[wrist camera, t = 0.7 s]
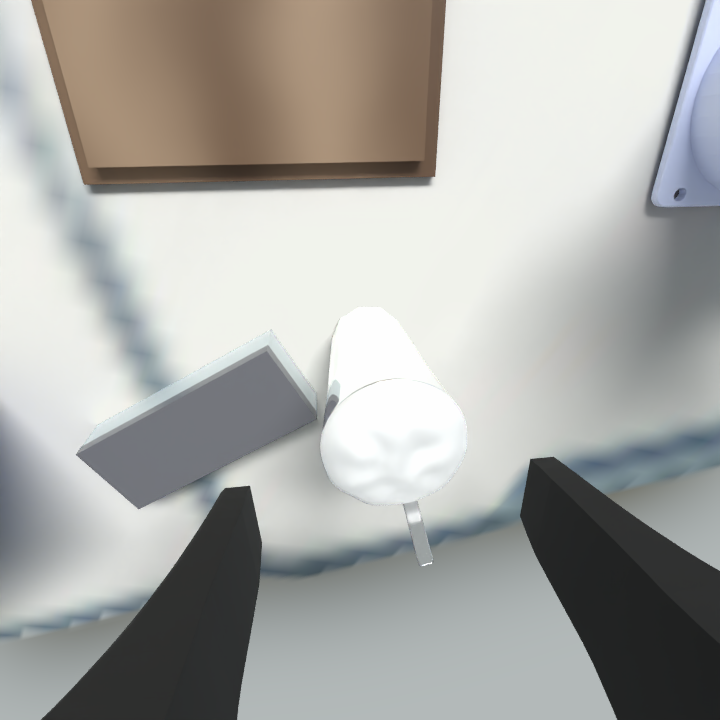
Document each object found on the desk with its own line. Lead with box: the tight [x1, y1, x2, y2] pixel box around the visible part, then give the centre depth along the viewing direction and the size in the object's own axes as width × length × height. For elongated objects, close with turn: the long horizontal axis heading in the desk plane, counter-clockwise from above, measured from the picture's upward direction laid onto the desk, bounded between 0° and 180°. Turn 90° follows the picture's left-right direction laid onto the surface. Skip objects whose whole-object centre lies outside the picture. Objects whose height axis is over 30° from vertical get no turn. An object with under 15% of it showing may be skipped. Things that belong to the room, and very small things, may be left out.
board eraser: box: [76, 330, 317, 509], centre depth 21 cm, size 10×4×3 cm, turn 118°
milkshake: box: [320, 307, 467, 566], centre depth 16 cm, size 5×5×10 cm
